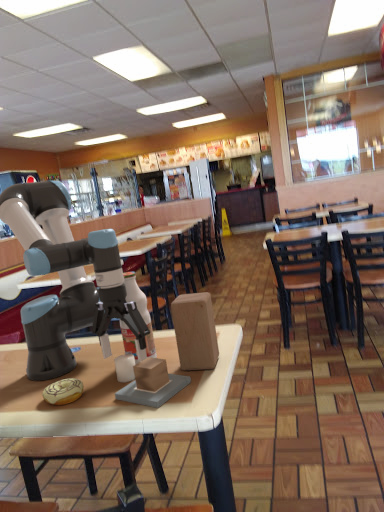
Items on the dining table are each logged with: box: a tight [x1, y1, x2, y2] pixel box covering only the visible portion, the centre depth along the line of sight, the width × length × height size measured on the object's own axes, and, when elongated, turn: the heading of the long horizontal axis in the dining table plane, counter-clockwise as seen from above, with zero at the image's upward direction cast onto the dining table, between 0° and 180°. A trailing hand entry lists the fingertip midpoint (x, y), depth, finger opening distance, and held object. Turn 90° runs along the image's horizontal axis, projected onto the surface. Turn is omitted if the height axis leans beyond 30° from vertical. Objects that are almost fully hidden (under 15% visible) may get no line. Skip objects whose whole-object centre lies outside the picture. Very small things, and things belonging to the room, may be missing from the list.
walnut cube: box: [133, 357, 169, 392], centre depth 108 cm, size 6×6×6 cm
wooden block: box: [170, 291, 220, 371], centre depth 120 cm, size 10×10×20 cm
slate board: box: [114, 372, 192, 409], centre depth 109 cm, size 14×14×2 cm
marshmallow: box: [113, 353, 135, 383], centre depth 119 cm, size 6×6×6 cm
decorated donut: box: [42, 377, 85, 406], centre depth 112 cm, size 10×11×4 cm
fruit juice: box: [119, 271, 158, 365], centre depth 129 cm, size 9×9×28 cm
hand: (124, 358), depth 118 cm, fingers open, 13 cm apart
